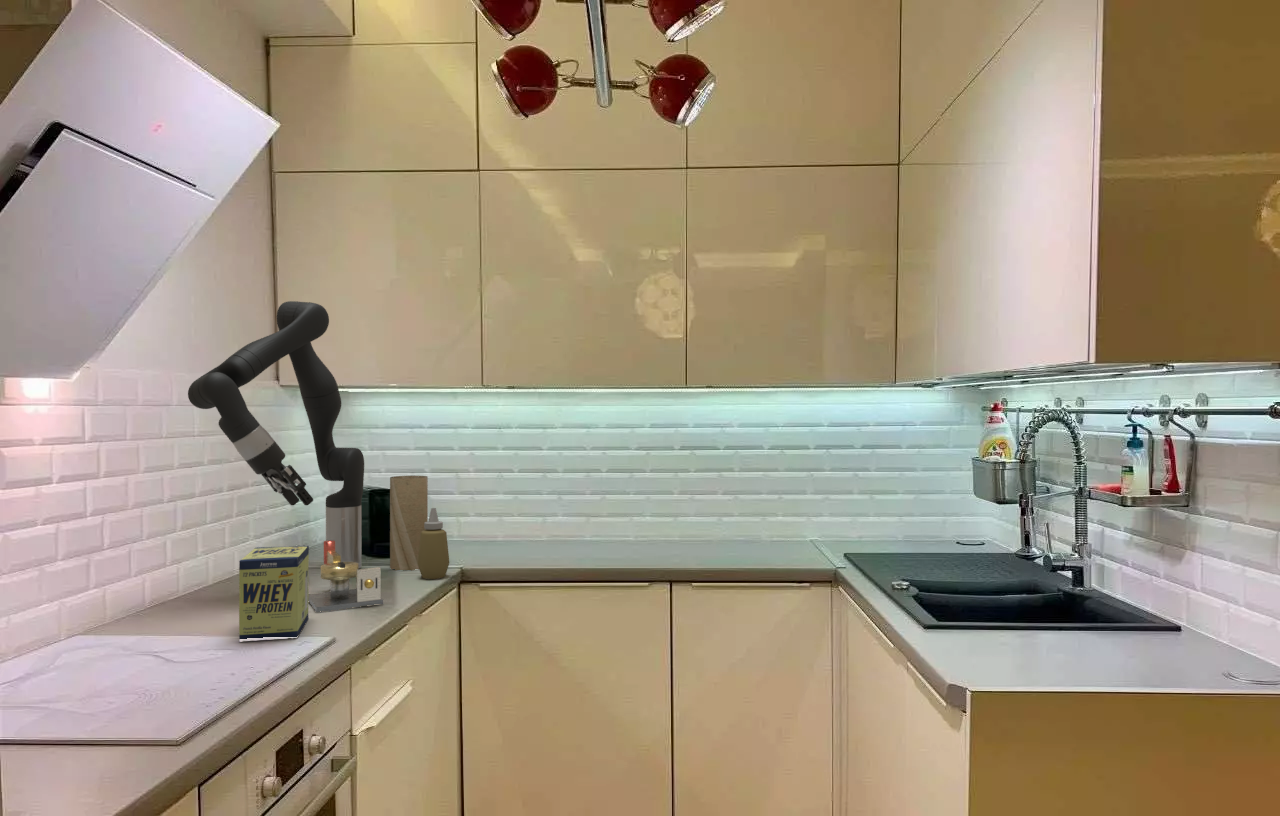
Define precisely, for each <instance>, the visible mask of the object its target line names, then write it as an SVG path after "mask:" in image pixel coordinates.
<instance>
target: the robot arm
mask: <svg viewBox="0 0 1280 816" xmlns="http://www.w3.org/2000/svg"><path fill="white" fill-rule="evenodd" d="M276 311H277V312H276V324H277V328H278V331H276V332H274V333H272V334H269V335H266V336H264V337H261V338H259V339H256V340H253V341H252V342H249V343H248V344H246V345H244V346H243V347H241V348H240V349H238V350H236V351H235V352H234V353H232V355H230V356H229V357H227V358H226V359H224V361H223V362H221V364H219V365H217V366H216V367H214V368H213V369H211V370H209V371H207V372H206V373H204V374H203V375H201V376H200V377H198V378H197V379H195V380H194V381H193V382H192V383H191V384H190V386H189V387H188V391H187V398H188V401H189V402H190V403H191V404H192V405H193V406H194V407H196V408H198V409H202V410H211V409H213V408H215V409H216V410H217V411H218V412H217V413H218V414H219V415H220V418H219V420H218V427H219V428H220V429H221V431H222V433H223V434H224V435H225V436H226V437H227V438H228V439H229V441H230V442H231V443H232V444H233V446H234V448H235V450H236V451H237V452H238V453H239V455H240V456H241V457H242V459H243V460H244V461H245V462H246V463H247V465H248V466H249V467H250V468H251V470H252V471H253V473H255V474H256V475H261V476H262V477H263V478H264V480H265V481H266V482H267V483H268V485H269V486H270V487H271V489H272V490H273V492H275V493H278V494H279V495H281V496H282V497H283V498H284V499H285V500H286V501H287V503H289V505H290V506H295V505H296V504H298V503H299V502H300V501H301V503H302V504H303V505H304V506H309V505H310V504H312V503H313V502H314V498H313V496H312V495H311V494H310V493H309V491H308V490H307V489H306V488H305V487H306V486H307V483H306V481H305V480H304V479H303V478H302V477H301V475H300V474H299V473H298V472H297V471H296V470H295V469H294V467H293V465H290V464H288V465H287V466H286V465H285V464H284V463H282V461H283V460H284V459H286V453H285V452H284V451H283V449H281V447H280V446H279V444H278V443H277V442H276V441H275V440H274V438H273V437H272V436H271V434H270V433H269V432H268V431H267V430H266V428H264V427H263V426H262V425H261V424H260V423H259V421H258V420H257V418H255V416H254V415H253V414H252V412H251V411H250V410H249V408H248V406H247V403H246V400H245V399H244V397H243V395H242V393H241V391H240V389H239V388H241V387H244V386H245V385H247V384H248V383H250V382H252V381H253V380H254V379H255V378H257V377H258V376H259V375H260V374H262V373H263V372H264V371H265V370H267V369H268V368H269V367H271V366H272V365H274V364H275V363H277V362H278V361H280V360H281V359H283V358H285V357H286V356H289V359H290V362H291V364H292V368H293V371H294V373H295V377H296V379H297V383H298V387H299V391H300V396H301V399H302V403H303V406H304V409H305V413H306V415H307V419H308V422H309V426H310V430H311V435H312V438H313V443H314V449H315V455H316V460H317V465H318V470H319V472H320V475H321V476H322V478H323V479H324V480H325V481H328V482H329V481H331V482H343V485H342V488H341V489H340V490H339V491H337V492H333V493H331V494H328V495H327V496H326V497H325V541H328V540H335V551H336V552H337V553H338V554H339V555H340V556H341V562H356V563H358V569H362V553H363V552H362V500H363V494H364V481H365V480H364V477H365V458H364V454H363V452H362V450H361V449H360V448H358V447H336V445H335V442H334V438H333V437H334V436H333V430H334V427H335V424H336V422H337V420H338V417H339V414H340V412H341V408H342V397H341V394H340V391H339V386H338V383H337V380H336V378H335V376H334V375H333V374H332V371H330V369H329V368H328V367H327V365H325V363H324V362H323V361H322V360H321V359H320V357H319V356H318V354H316V352H315V349H314V347H313V345H312V342H313V341H315V340H317V339H318V338H321V337H322V336H323V335H324V334H325V333H326V332H327V331H328V327H329V325H330V317H329V313H328V310H327V309H326V308H325V306H323V305H322V304H319V303H315V302H310V301H309V302H308V301H307V302H306V301H296V300H295V301H294V300H293V301H292V300H291V301H290V300H289V301H285V302H283V303H281V304H280V306H278V309H277V310H276ZM296 484H297V485H296Z"/></svg>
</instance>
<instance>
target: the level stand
mask: <svg viewBox="0 0 1280 816" xmlns="http://www.w3.org/2000/svg"><path fill="white" fill-rule="evenodd" d="M381 569H382V568H381V567H380V566H378V567H377V566H376V567H369V568H368V567H367V568H359V569H357V570H356V577H355V587H356V588H353V589H351V588H350V578H349V579H342V580H329V582H330V583H329V584H330V586H329V590H330V591H326V592H325V591H324V592H316V593H309V596H308V601H309V602H310V603H309V602H308V603H309V605H310V604H311V605H312V606H313V608H314V609H315V610H314V609H313V608H312V609H313V610H314V612H315V611H316V612H320V611H321V612H320V613H323V612H322V611H328V612H332V611H331V610H336V611H340V610H339V609H344V610H347V609H346V608H352V607H360V606H367V605H374V604H383V605H384V599H383V598H382V597H381V596H382V595H381V594H382V593H381V589H382V587H381V582H382V581H381V577H382V576H381V575H382V574H381ZM311 605H310V606H311ZM312 606H311V607H312ZM360 608H361V607H360ZM352 609H353V608H352ZM316 612H315V613H316Z"/></svg>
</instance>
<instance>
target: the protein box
mask: <svg viewBox="0 0 1280 816" xmlns="http://www.w3.org/2000/svg"><path fill="white" fill-rule="evenodd" d="M309 547H310V546H309V545H289V546H286V545H283V546H260V547H259V546H258V547H255V548H253V549H252V550H251V551H250V552H249V553H247V554H246V555H245V556H244V557H242V558H241V559H239V560H238V562H239V565H238V566H239V567H238V568H239V569H238V570H239V571H238V576H239V577H238V578H239V579H238V584H239V585H238V587H239V588H238V590H239V591H238V592H239V593H238V594H239V597H238V601H239V602H238V603H239V604H238V607H239V608H238V609H239V610H238V615H239V616H238V617H239V618H238V623H239V624H238V627H239V628H238V629H239V630H238V632H239V633H238V634H239V635H238V637H239V638H238V639H247V638H263V637H297V636H298V635H299V634H301V633H302V631H303V629H304V628H305V626H304V625H306V624H307V622H308V620H309V602H308V596H309V594H310V593H309V592H310V591H309V589H310V588H309V563H310V562H309V560H310V559H309V557H310V556H309V555H310V553H309V552H310V551H309V550H310V548H309ZM305 623H306V624H305ZM301 630H302V631H301ZM300 632H301V633H300ZM299 636H300V635H299ZM299 636H298V637H299Z"/></svg>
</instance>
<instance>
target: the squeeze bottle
mask: <svg viewBox="0 0 1280 816" xmlns="http://www.w3.org/2000/svg"><path fill="white" fill-rule="evenodd" d="M443 523H444V522H443V521H441V520H439V516H438V512H437V508H436V507H432V508H430V513H429V517H428V522H425V523H424V529H426V530H424V531H422V532H421V535H420V545H419V555H418V567H419V572H420V575H421V578H422V579H423V580H425V579H426V580H437V579H438V580H439V579H444V577H446V576H447V572H448V569H449V566H450V555H449V545H448V535H447V531H446V530H444V529H443V527H444V526H443V525H444V524H443Z"/></svg>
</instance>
